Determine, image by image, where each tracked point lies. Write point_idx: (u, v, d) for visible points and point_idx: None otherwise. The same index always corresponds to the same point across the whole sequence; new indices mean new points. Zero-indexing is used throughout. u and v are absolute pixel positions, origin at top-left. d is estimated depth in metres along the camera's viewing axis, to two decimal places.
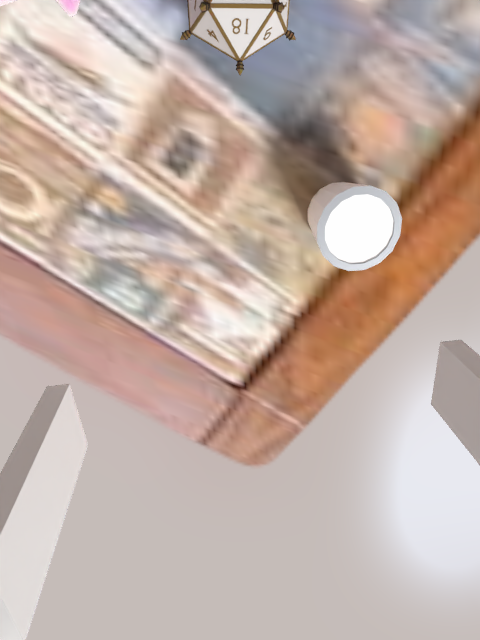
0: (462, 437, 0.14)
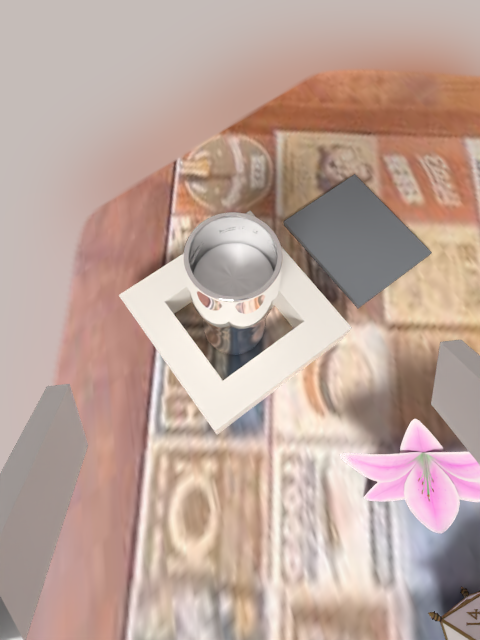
0: (462, 438, 0.14)
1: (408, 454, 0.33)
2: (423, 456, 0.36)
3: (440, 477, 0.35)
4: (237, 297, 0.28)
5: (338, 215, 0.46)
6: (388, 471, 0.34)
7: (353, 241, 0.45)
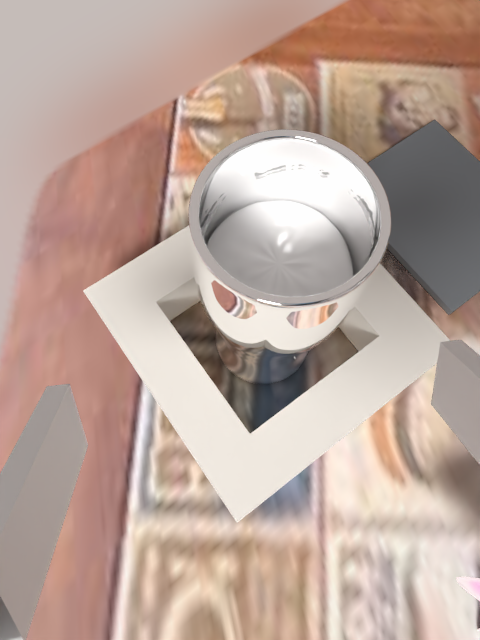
0: (462, 438, 0.14)
1: None
2: None
3: None
4: (302, 299, 0.13)
5: (414, 177, 0.31)
6: None
7: (438, 214, 0.30)
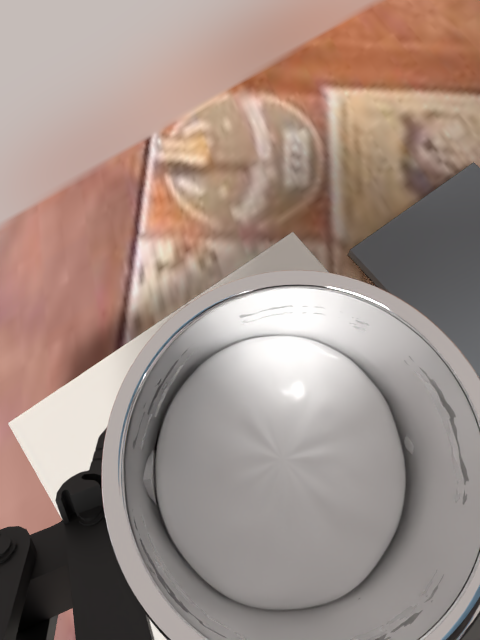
0: None
1: None
2: None
3: None
4: None
5: (451, 238, 0.25)
6: None
7: None
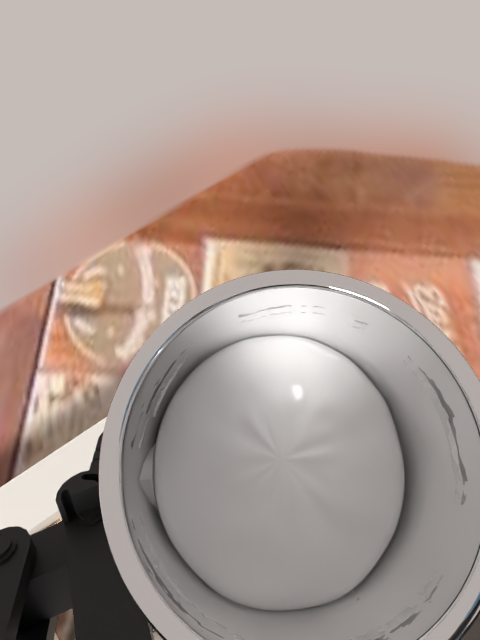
0: None
1: None
2: None
3: None
4: None
5: None
6: None
7: None
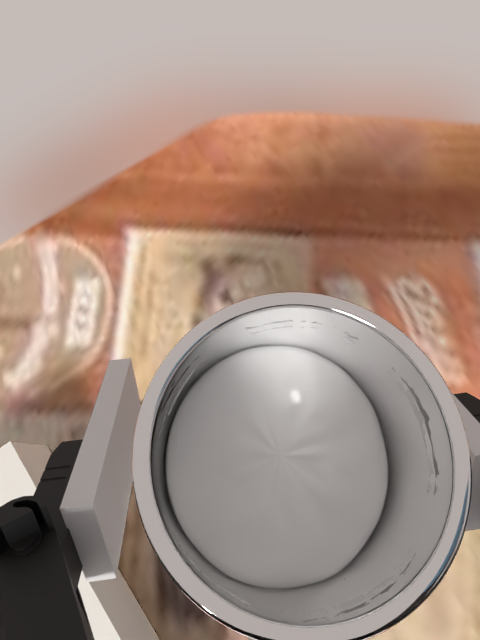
0: None
1: None
2: None
3: None
4: (326, 635, 0.07)
5: None
6: None
7: None
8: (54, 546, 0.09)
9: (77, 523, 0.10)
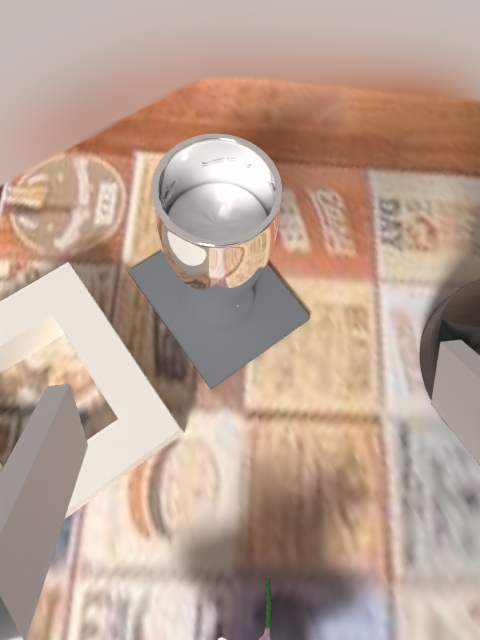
0: (462, 438, 0.14)
1: None
2: None
3: None
4: (220, 242, 0.21)
5: None
6: None
7: None
8: None
9: None
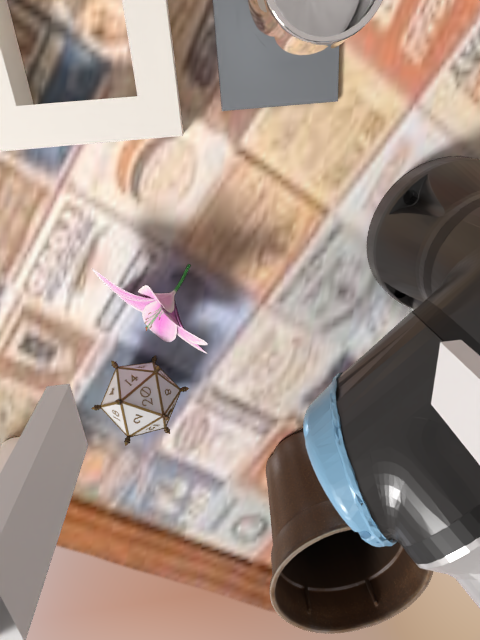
0: (462, 438, 0.14)
1: (144, 297, 0.38)
2: None
3: None
4: (295, 30, 0.22)
5: None
6: (130, 296, 0.39)
7: None
8: None
9: None
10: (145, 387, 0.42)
